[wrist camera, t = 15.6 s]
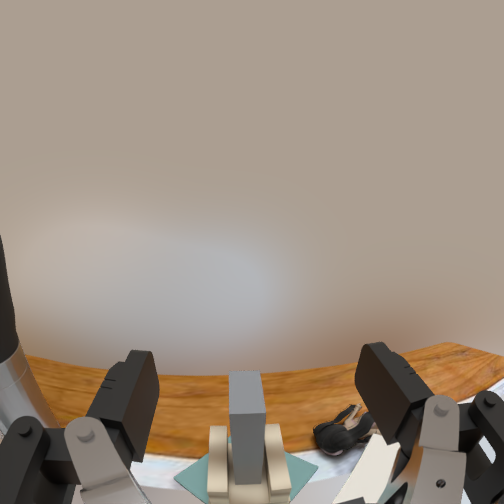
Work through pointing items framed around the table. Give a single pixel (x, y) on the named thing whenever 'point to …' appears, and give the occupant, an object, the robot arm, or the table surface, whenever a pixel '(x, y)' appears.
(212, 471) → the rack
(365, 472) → the cream flat block
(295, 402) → the table surface
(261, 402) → the grey rectangular block
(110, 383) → the robot arm
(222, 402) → the table surface
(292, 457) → the mat
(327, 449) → the toy figure
